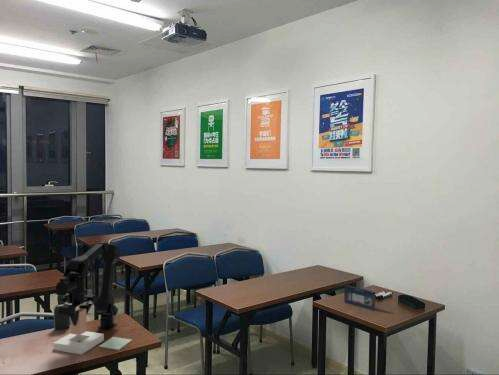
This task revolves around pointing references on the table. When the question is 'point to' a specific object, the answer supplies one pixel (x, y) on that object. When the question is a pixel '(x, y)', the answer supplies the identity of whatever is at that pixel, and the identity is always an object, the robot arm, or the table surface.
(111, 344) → the mat
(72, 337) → the dock
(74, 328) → the peg
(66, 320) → the battery charger
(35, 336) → the table surface
